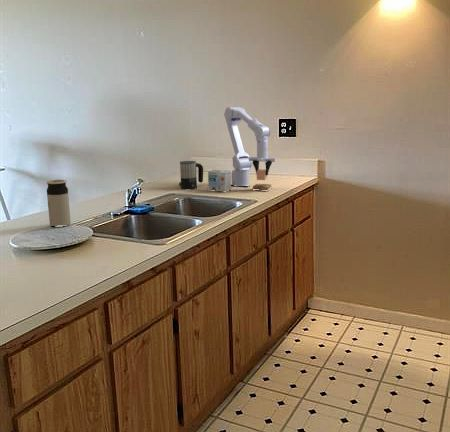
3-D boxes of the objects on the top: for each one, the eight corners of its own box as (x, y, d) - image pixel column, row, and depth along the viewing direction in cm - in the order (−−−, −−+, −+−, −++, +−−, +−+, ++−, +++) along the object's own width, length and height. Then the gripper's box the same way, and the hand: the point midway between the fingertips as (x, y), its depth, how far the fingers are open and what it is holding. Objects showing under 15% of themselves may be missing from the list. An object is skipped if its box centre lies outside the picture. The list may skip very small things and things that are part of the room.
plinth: (252, 190, 276) (252, 186, 275) (257, 188, 283) (257, 183, 282) (267, 191, 273) (267, 186, 272) (271, 188, 280) (271, 184, 280)
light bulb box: (207, 191, 276) (207, 171, 274) (214, 189, 282) (213, 169, 280) (225, 192, 271) (225, 172, 269) (231, 190, 277) (231, 170, 275)
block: (256, 179, 275) (256, 170, 274) (259, 178, 279) (259, 169, 278) (264, 180, 273) (264, 170, 272) (267, 178, 278) (267, 169, 276)
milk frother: (189, 190, 278) (188, 163, 275) (167, 187, 288) (167, 161, 284) (206, 186, 289) (205, 160, 286) (185, 184, 299) (184, 158, 295)
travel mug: (72, 222, 211) (69, 179, 207) (67, 227, 203) (64, 182, 199) (53, 223, 211) (49, 179, 207) (47, 228, 203) (43, 183, 199)
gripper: (246, 149, 272) (247, 175, 275) (273, 150, 267) (273, 176, 270) (250, 148, 278) (250, 173, 281) (277, 149, 273) (276, 174, 277)
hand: (262, 174), depth 276 cm, fingers closed on block, 4 cm apart
